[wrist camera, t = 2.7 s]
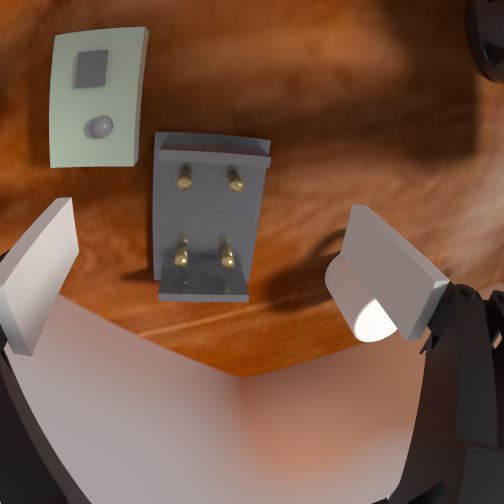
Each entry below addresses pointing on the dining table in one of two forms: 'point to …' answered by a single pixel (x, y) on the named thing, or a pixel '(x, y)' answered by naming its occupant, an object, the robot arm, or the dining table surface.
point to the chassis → (206, 213)
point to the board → (96, 97)
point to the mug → (357, 302)
